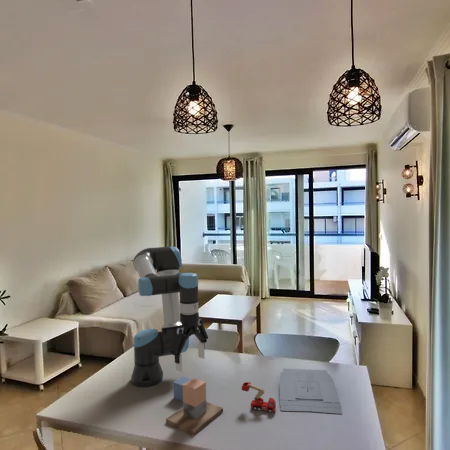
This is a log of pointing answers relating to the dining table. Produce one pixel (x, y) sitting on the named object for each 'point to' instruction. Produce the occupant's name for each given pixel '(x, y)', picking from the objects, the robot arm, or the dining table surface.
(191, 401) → the terracotta brick
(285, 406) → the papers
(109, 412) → the dining table surface
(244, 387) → the toy fire truck
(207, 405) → the board
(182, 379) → the slate blue brick
